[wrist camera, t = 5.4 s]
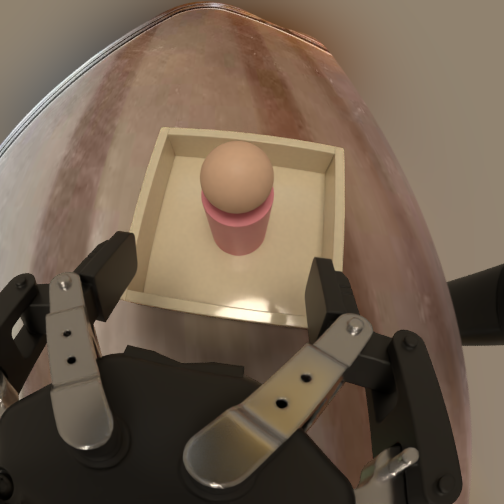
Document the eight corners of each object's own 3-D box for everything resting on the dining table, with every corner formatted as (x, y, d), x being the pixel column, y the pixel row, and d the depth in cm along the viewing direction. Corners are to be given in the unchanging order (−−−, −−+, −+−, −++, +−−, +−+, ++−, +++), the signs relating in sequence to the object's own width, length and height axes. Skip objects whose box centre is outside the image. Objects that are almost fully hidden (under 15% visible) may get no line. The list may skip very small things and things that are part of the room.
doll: (268, 208, 25) (285, 128, 14) (262, 259, 24) (277, 203, 13) (217, 202, 25) (201, 119, 14) (208, 252, 24) (181, 192, 13)
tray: (330, 173, 27) (344, 148, 23) (320, 330, 23) (337, 330, 19) (171, 154, 27) (161, 126, 23) (136, 304, 23) (115, 298, 19)
